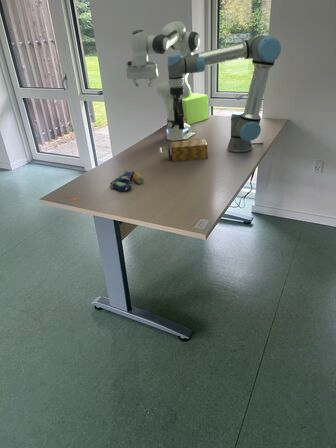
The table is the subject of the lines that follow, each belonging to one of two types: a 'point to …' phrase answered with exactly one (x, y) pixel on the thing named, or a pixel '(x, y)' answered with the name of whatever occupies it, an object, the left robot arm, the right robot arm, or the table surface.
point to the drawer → (167, 151)
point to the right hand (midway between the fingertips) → (179, 126)
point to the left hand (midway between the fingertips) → (143, 86)
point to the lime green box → (195, 108)
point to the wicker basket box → (189, 150)
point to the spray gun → (126, 180)
